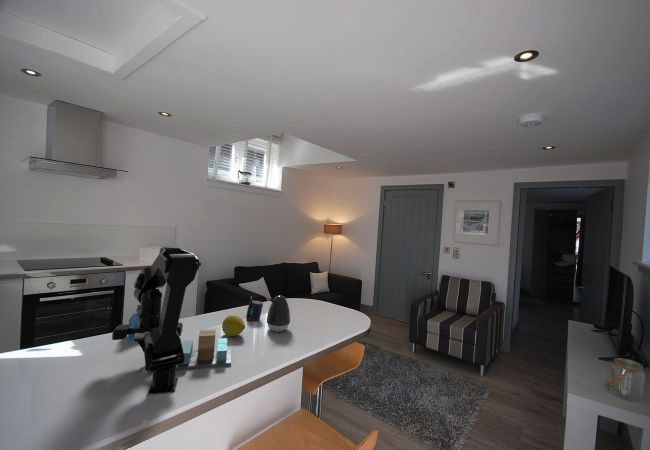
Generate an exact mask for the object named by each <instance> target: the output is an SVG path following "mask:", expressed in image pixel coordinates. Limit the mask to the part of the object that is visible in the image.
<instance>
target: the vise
mask: <svg viewBox="0 0 650 450" xmlns="http://www.w3.org/2000/svg"><path fill="white" fill-rule="evenodd" d="M231 347H232V346H228V338H227V337H225V338H217V347H215V348H214V359H208V360H197V357H198V348H195V349H193V350H192V354H191V358H190V362H189V364H181V365H176V371H180V370H181V371H183V370H184V371H185V370H194V369H206V368H209V369H210V368H217V367H219V368H221V366H222V367H231V366H232V351H231V350H232V349H231ZM174 356H176V355H172V356H168V357H164V358H160V360H162V359H166V358H170V357H174ZM147 373H148V374H149V373H150V371H147Z"/></svg>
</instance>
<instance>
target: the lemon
mask: <svg viewBox="0 0 650 450" xmlns="http://www.w3.org/2000/svg"><path fill="white" fill-rule="evenodd" d="M221 328H222V329H221V330H222V331H223V333H224V334H225V335H226V336H229V337H237V336H239V335H240V334H241V333H243V331H244V330H245V329H246V324H245V322H244V320H243V319H242V318H241V317H240V316H237V315H232V314H231V315H228V316H226V317H225V318H224V319H223V322H222V324H221Z"/></svg>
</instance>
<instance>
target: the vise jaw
mask: <svg viewBox="0 0 650 450" xmlns="http://www.w3.org/2000/svg"><path fill="white" fill-rule="evenodd" d="M193 346H194V340H193V339H189V340H187V339H186V340H183V342H182V348H183V352H184V357H185V359H184V363H183V364H189V362H190V358H191V354H192V350H193ZM158 360H160V359H156V360H153V362H154V361H158ZM179 365H181V364H179Z"/></svg>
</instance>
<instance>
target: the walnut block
mask: <svg viewBox="0 0 650 450" xmlns="http://www.w3.org/2000/svg"><path fill="white" fill-rule="evenodd" d="M216 331H217V330H216V329H200V330H199V333H198V344H197V349H198V357H197V360H208V359H214V348H216V347H215V346H216V345H215V344H216Z"/></svg>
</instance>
